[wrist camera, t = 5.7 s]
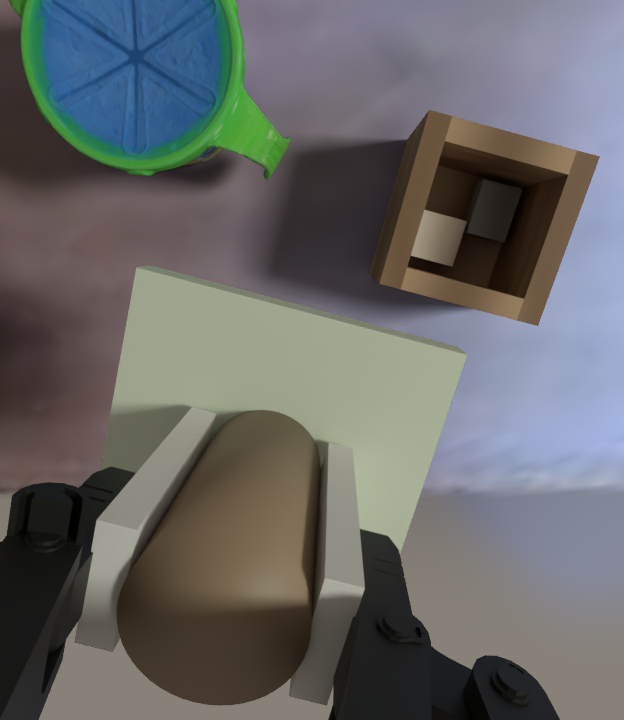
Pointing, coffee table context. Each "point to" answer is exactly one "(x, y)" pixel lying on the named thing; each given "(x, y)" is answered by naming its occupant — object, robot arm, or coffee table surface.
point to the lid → (259, 469)
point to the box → (481, 216)
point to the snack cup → (145, 81)
